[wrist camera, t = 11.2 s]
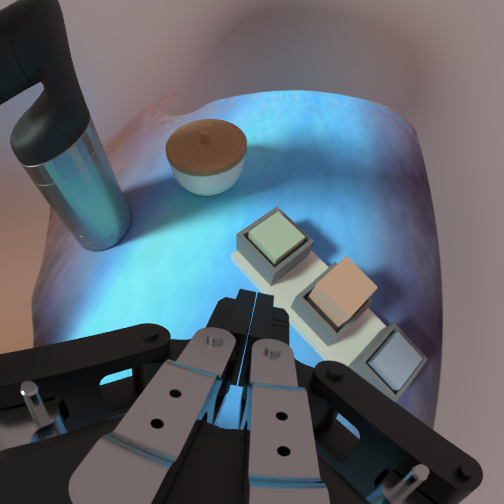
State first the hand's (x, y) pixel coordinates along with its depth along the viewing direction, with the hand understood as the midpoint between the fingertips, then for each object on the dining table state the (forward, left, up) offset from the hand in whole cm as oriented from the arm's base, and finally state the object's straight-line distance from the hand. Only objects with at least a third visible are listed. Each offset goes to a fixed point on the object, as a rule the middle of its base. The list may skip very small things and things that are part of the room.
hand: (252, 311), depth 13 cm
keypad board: (-2, +11, -21) cm, 24 cm away
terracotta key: (-2, +11, -16) cm, 19 cm away
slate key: (+7, +14, -18) cm, 24 cm away
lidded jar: (-26, +4, -21) cm, 34 cm away
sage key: (-11, +8, -19) cm, 23 cm away
